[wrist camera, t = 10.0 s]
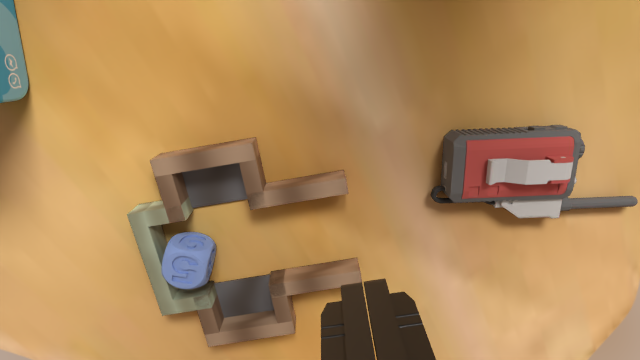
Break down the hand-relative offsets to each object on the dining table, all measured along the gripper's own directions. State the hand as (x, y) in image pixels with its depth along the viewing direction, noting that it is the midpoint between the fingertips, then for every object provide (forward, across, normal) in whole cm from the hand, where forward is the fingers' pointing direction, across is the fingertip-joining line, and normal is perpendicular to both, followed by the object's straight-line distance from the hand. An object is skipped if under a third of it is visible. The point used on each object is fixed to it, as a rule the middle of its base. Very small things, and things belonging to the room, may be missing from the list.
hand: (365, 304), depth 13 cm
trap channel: (+24, +10, +8) cm, 27 cm away
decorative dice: (+24, +16, +9) cm, 30 cm away
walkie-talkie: (+25, -18, +6) cm, 32 cm away
